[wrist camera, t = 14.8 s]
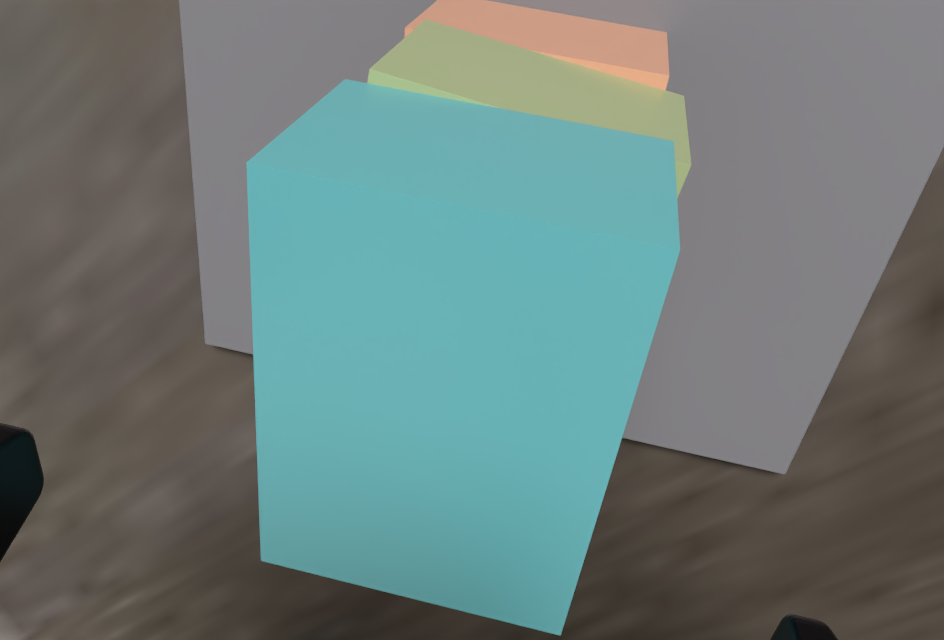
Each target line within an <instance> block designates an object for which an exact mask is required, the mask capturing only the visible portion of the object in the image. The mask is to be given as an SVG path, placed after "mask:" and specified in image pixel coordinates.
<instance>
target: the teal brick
mask: <svg viewBox="0 0 944 640" xmlns="http://www.w3.org/2000/svg"><path fill="white" fill-rule="evenodd" d="M246 165H247V193H248V220H249V248H250V275H251V302H252V330H253V357H254V384H255V412H256V439H257V467H258V494H259V521H260V549H261V561H264V562H268V563H272V564H276V565H280V566H284V567H288V568H292V569H296V570H300V571H304V572H308V573H312V574H316V575H320V576H324V577H328V578H332V579H336V580H340V581H344V582H348V583H352V584H356V585H360V586H364V587H368V588H372V589H376V590H380V591H384V592H388V593H392V594H396V595H400V596H404V597H408V598H412V599H416V600H420V601H424V602H428V603H432V604H436V605H440V606H444V607H448V608H452V609H456V610H460V611H464V612H468V613H472V614H476V615H480V616H484V617H488V618H492V619H496V620H500V621H504V622H508V623H512V624H516V625H520V626H524V627H528V628H532V629H536V630H540V631H544V632H548V633H552V634H556V635H560V636H561V633H562V630H563V626H564V623H565V620H566V617H567V613H568V610H569V607H570V604H571V601H572V597H573V594H574V591H575V588H576V584H577V581H578V578H579V575H580V572H581V568H582V565H583V562H584V559H585V555H586V552H587V549H588V546H589V542H590V539H591V536H592V533H593V530H594V526H595V523H596V520H597V517H598V513H599V510H600V507H601V504H602V501H603V497H604V494H605V491H606V488H607V484H608V481H609V478H610V475H611V472H612V468H613V465H614V462H615V459H616V455H617V452H618V449H619V446H620V443H621V439H622V436H623V433H624V430H625V426H626V423H627V420H628V417H629V414H630V410H631V407H632V404H633V401H634V397H635V394H636V391H637V388H638V385H639V381H640V378H641V375H642V372H643V368H644V365H645V362H646V359H647V356H648V352H649V349H650V346H651V343H652V339H653V336H654V333H655V330H656V327H657V323H658V320H659V317H660V314H661V310H662V307H663V304H664V301H665V298H666V294H667V291H668V288H669V285H670V281H671V278H672V275H673V272H674V269H675V265H676V262H677V259H678V256H679V252H680V237H679V220H678V203H677V186H676V170H675V153H674V141H671V140H666V139H661V138H655V137H650V136H645V135H640V134H634V133H629V132H624V131H618V130H613V129H608V128H602V127H597V126H592V125H587V124H581V123H576V122H571V121H565V120H560V119H555V118H549V117H544V116H539V115H534V114H528V113H523V112H518V111H512V110H507V109H502V108H496V107H491V106H486V105H481V104H475V103H470V102H465V101H459V100H454V99H449V98H443V97H438V96H433V95H427V94H422V93H417V92H412V91H406V90H401V89H396V88H390V87H385V86H380V85H374V84H369V83H364V82H359V81H353V80H348V79H345V80H343V81H342V82H341V83H340V84H339V85H338V86H336V87H335V88H334V89H333V90H332V91H330V92H329V93H328V94H327V95H326V96H325V97H323V98H322V99H321V100H320V101H319V102H317V103H316V104H315V105H314V106H313V107H311V108H310V109H309V110H308V111H307V112H306V113H304V114H303V115H302V116H301V117H300V118H298V119H297V120H296V121H295V122H294V123H293V124H291V125H290V126H289V127H288V128H287V129H285V130H284V131H283V132H282V133H281V134H280V135H278V136H277V137H276V138H275V139H274V140H272V141H271V142H270V143H269V144H268V145H267V146H265V147H264V148H263V149H262V150H261V151H259V152H258V153H257V154H256V155H255V156H254V157H252V158H251V159H250V160H249V161H248V162H246Z"/></svg>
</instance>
